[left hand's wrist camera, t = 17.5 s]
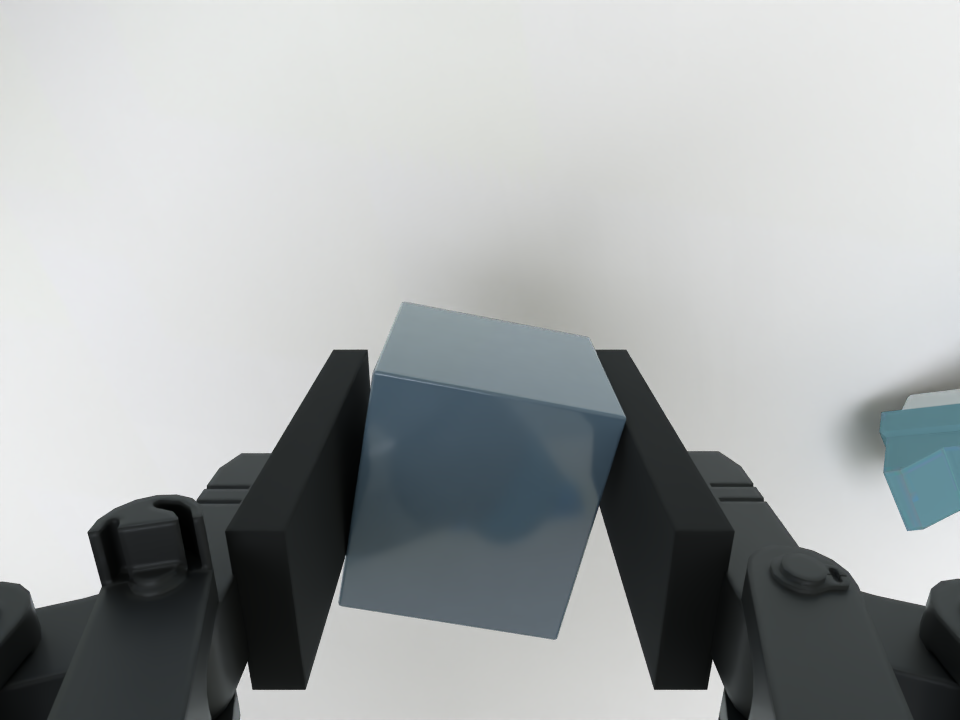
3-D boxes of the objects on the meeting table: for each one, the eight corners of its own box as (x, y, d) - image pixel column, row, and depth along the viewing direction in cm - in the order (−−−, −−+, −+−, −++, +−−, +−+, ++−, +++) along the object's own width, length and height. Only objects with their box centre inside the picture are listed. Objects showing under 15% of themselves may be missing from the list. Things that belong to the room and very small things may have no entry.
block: (539, 517, 16) (557, 641, 13) (371, 489, 16) (336, 606, 12) (589, 336, 15) (628, 417, 11) (402, 300, 14) (372, 370, 10)
